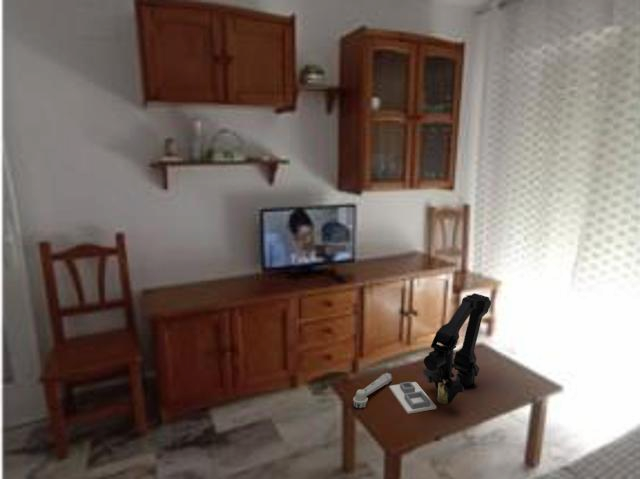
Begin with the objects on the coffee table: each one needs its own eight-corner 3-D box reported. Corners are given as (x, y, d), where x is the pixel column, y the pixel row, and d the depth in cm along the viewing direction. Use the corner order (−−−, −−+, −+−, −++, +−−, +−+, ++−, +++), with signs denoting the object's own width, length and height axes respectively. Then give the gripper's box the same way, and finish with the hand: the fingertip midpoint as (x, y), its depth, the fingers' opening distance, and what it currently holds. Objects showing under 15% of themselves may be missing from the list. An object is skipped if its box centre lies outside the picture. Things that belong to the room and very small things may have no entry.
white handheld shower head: (394, 374, 189) (362, 393, 169) (392, 389, 189) (361, 410, 170) (383, 370, 192) (351, 389, 172) (382, 384, 193) (349, 405, 173)
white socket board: (415, 383, 188) (415, 377, 187) (436, 408, 171) (436, 401, 170) (389, 388, 185) (389, 381, 184) (407, 413, 168) (407, 406, 167)
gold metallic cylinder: (444, 397, 178) (446, 379, 176) (450, 403, 174) (451, 385, 172) (435, 398, 177) (436, 380, 175) (440, 404, 173) (441, 386, 171)
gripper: (415, 352, 178) (414, 386, 182) (438, 376, 161) (436, 413, 165) (440, 348, 181) (438, 382, 185) (465, 371, 163) (462, 409, 167)
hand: (443, 396), depth 175 cm, fingers open, 9 cm apart
